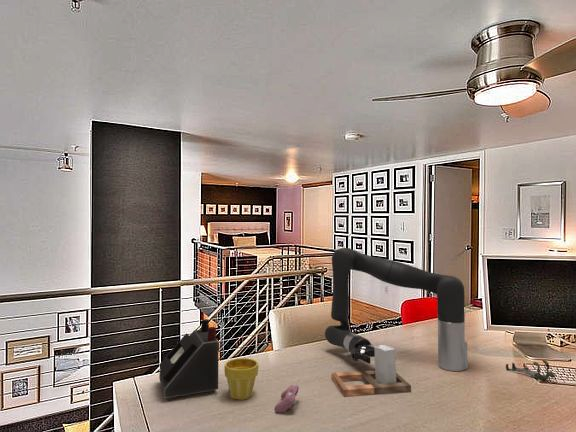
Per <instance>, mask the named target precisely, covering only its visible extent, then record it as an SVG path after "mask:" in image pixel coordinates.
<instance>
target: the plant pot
mask: <svg viewBox="0 0 576 432" xmlns="http://www.w3.org/2000/svg"><path fill="white" fill-rule="evenodd" d="M258 373H259V362H258V361H257V360H256V359H253V358H249V357H237V358H233V359H230V360H227V361H226V362H225V364H224V376H225V378H226V379H227V385H228V389H229V394H230V397H231V398H232V399H234V400H239V401H241V400H247V399H249V398H250V397H251V396H252V395H253V391H254V386H255V381H256V377H257V376H258Z"/></svg>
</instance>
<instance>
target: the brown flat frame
mask: <svg viewBox="0 0 576 432" xmlns="http://www.w3.org/2000/svg"><path fill="white" fill-rule="evenodd" d="M331 380H332V381H333V383H334V385H335V386H336V387H337V389H338V390H339V392H340V393H341V394H343V395H342V396H343V397H356V396H371V395H383V394H384V395H385V394H398V393H411V392H412V385H411V384H410V383H409V382H407V380H406V379H404V378H403V377H402V376H401V375H400V374H398V373H397V372H396V383H384V384H379V383H377V382H376V376H375V369H374V370H361V371H359V370H358V371H344V372H342V371H341V372H332V373H331ZM354 381H355V382H356V381H358V382H359V381H362V383H363V384H356V385H346V384H345V383H344V382H354Z"/></svg>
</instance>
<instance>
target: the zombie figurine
mask: <svg viewBox="0 0 576 432" xmlns="http://www.w3.org/2000/svg"><path fill="white" fill-rule="evenodd" d="M541 361H542V362H543V364H544V365H545V367H546V372H545V373H546V375H544V374H543V375H542V374H541V369H540V364H539V363H538V362H536V361H533V363H532V364H533V365H535V366H536V367H537V370H536V371H534V370H531V369H528V368H527V367H522V368H520V367H516V364H515V363H514V362H511V363H512V364H511V368H509V364H508V363H506V364H505V369H506V370H505V371H512V372H518V373H521V372H522V373H523V372H524V373H526V374H528V375H530V377H531V379H536V380H540V381H547V380H548V379H549V377H550V378H552V379H553V378H555V377H556V375H555V373H554V372H552V371H549V370H550V368H551V367H550V365H549V362H548V361H547V360H546V359H545V360H544V359H541Z"/></svg>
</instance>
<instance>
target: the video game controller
mask: <svg viewBox="0 0 576 432" xmlns="http://www.w3.org/2000/svg"><path fill="white" fill-rule="evenodd" d="M299 390H300V386H298V385H297V384H291V385H290V386H288V388H286V389H285V390H284V391H282V392H281V394H280V398H281V400H280V401H279V402H278V403H277V404H276V405H275V406H274V411H275V413H277V414H278V413H283V412H286V411H288V410H290V408H291V407H292V405H296V403H297V401H296V397H297V395H298V393H299Z"/></svg>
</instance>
